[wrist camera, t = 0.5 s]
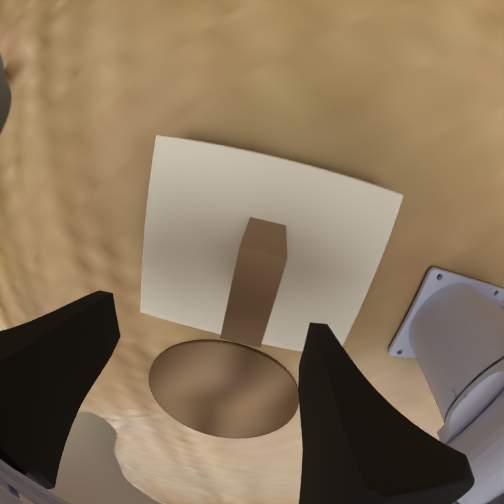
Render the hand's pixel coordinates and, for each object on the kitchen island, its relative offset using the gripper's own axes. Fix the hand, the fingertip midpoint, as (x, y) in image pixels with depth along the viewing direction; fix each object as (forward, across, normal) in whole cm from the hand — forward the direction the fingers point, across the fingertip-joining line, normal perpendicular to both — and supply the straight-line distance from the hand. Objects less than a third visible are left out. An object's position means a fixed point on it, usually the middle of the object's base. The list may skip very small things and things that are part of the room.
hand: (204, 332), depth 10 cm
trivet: (+10, +1, +16) cm, 18 cm away
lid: (+8, -1, 0) cm, 8 cm away
